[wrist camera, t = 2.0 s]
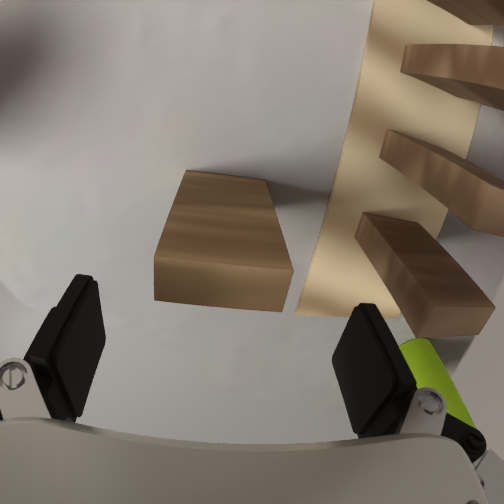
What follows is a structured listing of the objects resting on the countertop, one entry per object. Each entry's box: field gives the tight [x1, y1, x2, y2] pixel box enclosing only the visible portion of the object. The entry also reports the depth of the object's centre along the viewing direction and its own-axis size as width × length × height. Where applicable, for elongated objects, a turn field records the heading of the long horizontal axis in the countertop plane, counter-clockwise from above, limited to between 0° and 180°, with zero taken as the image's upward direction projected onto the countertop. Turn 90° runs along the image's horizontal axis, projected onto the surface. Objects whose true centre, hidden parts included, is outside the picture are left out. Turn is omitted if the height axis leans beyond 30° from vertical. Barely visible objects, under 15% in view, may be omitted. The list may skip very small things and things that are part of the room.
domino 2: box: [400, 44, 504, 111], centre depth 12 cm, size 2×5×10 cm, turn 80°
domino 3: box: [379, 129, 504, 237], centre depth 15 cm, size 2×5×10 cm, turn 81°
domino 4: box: [354, 212, 495, 338], centre depth 18 cm, size 2×5×10 cm, turn 81°
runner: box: [295, 0, 494, 318], centre depth 19 cm, size 29×10×1 cm, turn 171°
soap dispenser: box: [399, 338, 476, 429], centre depth 23 cm, size 6×7×20 cm
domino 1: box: [154, 170, 294, 312], centre depth 16 cm, size 2×5×10 cm, turn 81°
